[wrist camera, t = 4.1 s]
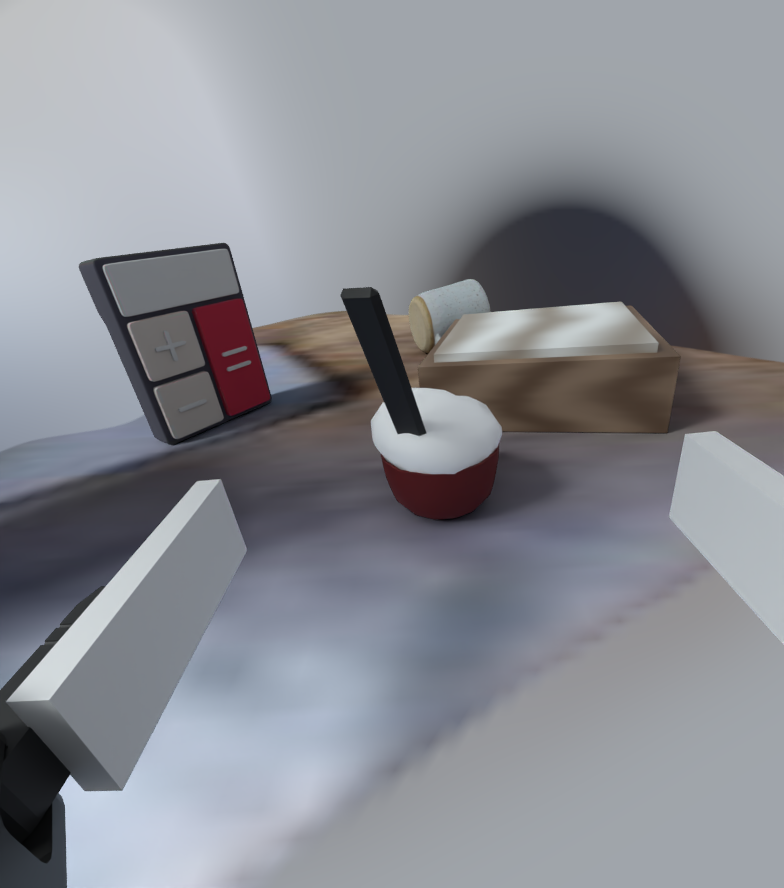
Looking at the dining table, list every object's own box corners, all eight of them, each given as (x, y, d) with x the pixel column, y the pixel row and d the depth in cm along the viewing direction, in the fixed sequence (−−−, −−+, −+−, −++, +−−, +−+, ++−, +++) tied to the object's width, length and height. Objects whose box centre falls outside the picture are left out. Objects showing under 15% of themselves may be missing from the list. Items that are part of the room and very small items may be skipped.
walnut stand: (424, 430, 32) (416, 359, 29) (458, 366, 45) (455, 313, 43) (667, 432, 27) (682, 346, 24) (625, 359, 40) (631, 298, 38)
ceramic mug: (409, 349, 55) (402, 287, 52) (465, 336, 57) (462, 276, 53) (442, 369, 46) (436, 296, 42) (507, 353, 48) (507, 282, 44)
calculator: (173, 448, 36) (93, 257, 29) (152, 439, 38) (75, 262, 32) (277, 402, 43) (233, 240, 36) (254, 397, 45) (208, 245, 39)
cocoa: (458, 461, 28) (446, 268, 23) (539, 493, 23) (543, 258, 18) (335, 520, 23) (288, 292, 19) (404, 575, 18) (364, 287, 14)
